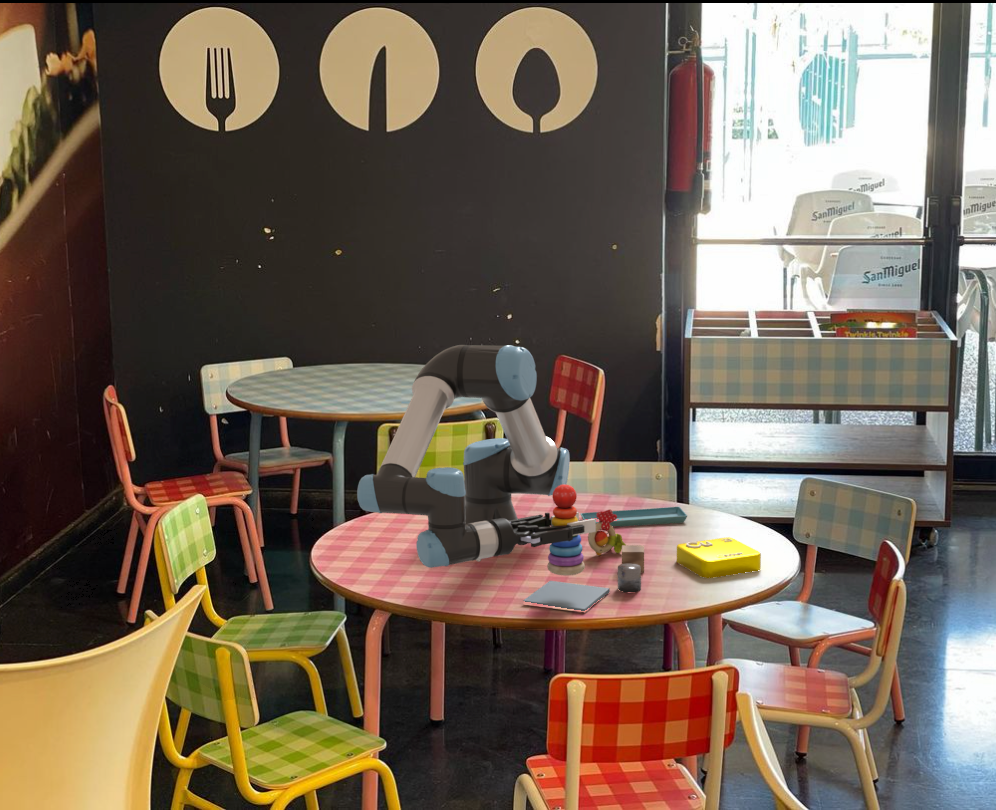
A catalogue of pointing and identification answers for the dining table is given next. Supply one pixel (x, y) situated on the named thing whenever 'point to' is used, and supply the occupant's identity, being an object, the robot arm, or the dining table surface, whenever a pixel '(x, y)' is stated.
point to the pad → (567, 595)
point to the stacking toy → (565, 553)
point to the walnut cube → (633, 555)
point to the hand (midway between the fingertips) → (586, 521)
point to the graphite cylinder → (629, 577)
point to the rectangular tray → (644, 516)
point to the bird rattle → (601, 538)
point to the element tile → (718, 557)
